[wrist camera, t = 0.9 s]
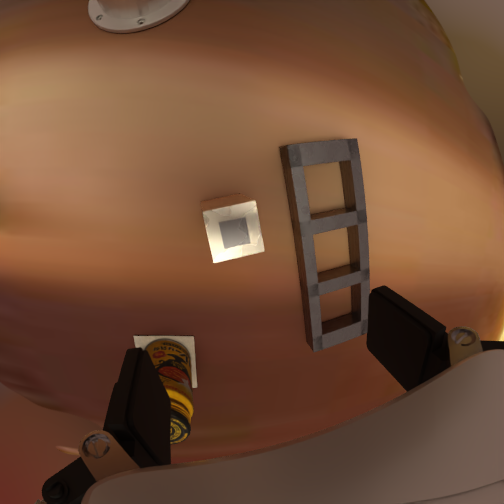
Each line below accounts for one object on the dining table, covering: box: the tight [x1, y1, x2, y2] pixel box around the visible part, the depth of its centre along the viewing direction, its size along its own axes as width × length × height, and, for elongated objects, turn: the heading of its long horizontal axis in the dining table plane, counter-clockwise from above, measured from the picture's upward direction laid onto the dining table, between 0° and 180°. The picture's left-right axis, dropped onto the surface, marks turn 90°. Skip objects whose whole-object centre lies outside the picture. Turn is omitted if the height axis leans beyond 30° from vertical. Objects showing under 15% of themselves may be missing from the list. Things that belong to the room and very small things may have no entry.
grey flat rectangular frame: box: [279, 138, 370, 352], centre depth 30 cm, size 24×8×2 cm, turn 10°
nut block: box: [201, 193, 264, 263], centre depth 24 cm, size 4×4×8 cm
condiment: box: [134, 336, 197, 444], centre depth 26 cm, size 7×8×12 cm
